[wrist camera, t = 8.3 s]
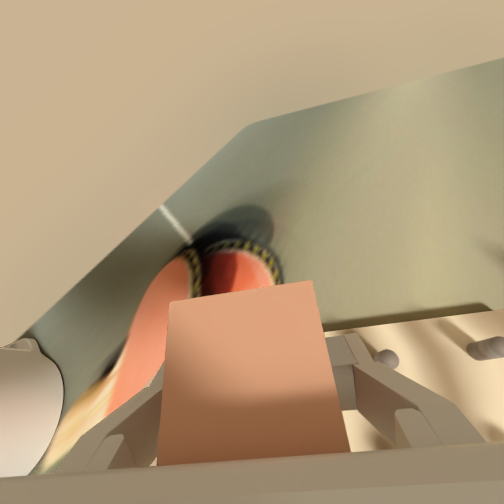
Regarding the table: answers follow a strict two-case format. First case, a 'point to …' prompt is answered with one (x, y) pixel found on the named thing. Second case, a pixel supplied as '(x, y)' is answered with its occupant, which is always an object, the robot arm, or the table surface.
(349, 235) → the table surface
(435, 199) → the table surface
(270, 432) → the terracotta block
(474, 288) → the table surface
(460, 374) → the birch peg plate
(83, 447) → the robot arm
